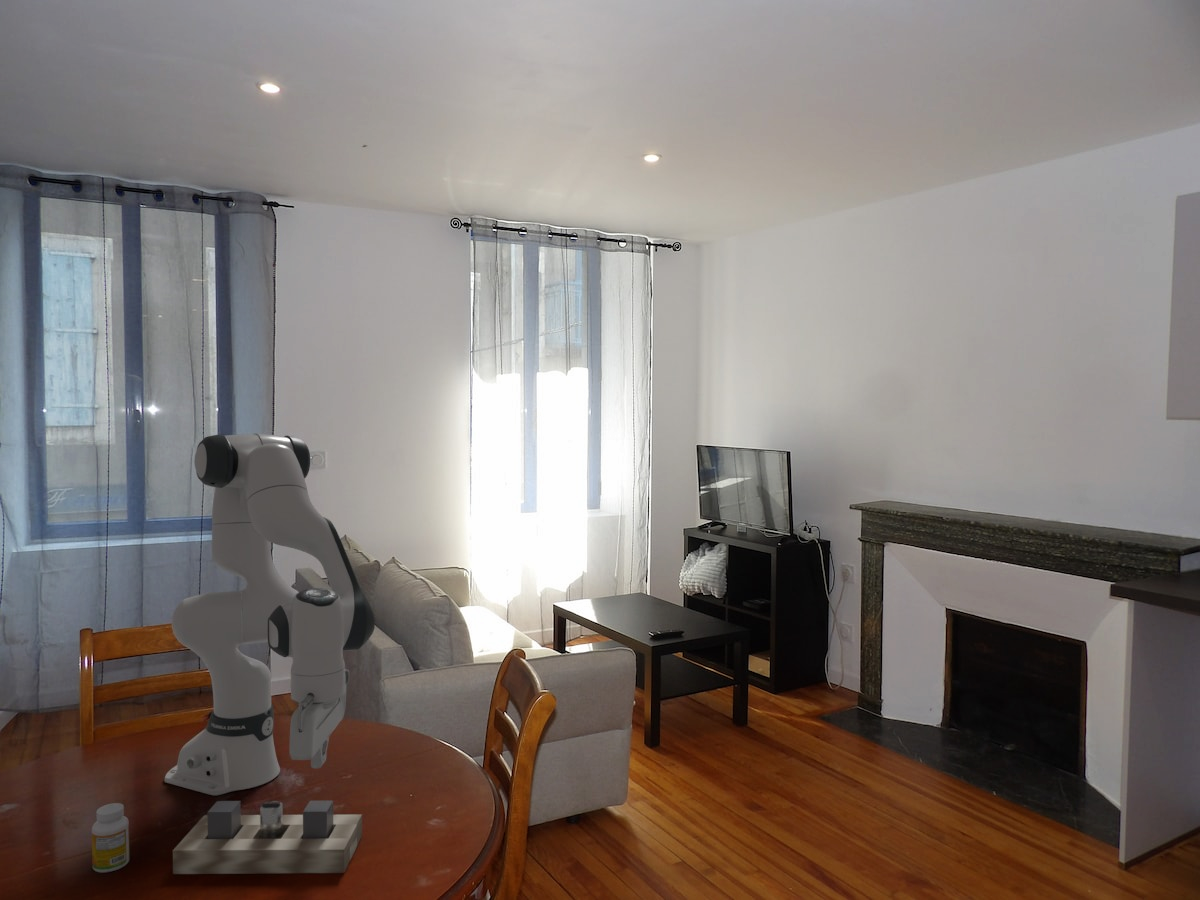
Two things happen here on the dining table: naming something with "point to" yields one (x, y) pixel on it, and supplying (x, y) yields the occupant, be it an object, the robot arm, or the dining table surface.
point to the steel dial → (271, 820)
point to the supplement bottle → (110, 838)
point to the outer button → (318, 820)
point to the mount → (268, 848)
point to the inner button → (224, 820)
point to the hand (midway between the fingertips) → (318, 764)
